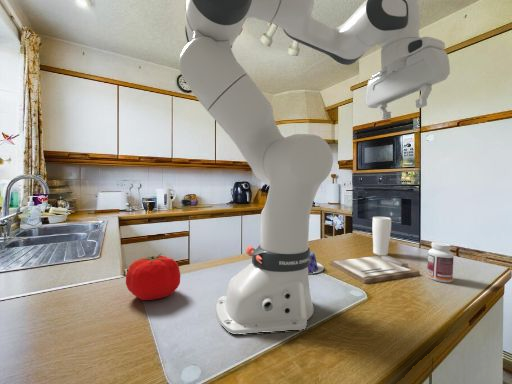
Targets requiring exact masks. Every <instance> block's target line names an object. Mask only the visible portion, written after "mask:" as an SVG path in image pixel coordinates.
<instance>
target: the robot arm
mask: <svg viewBox="0 0 512 384" xmlns="http://www.w3.org/2000/svg"><path fill="white" fill-rule="evenodd" d="M314 1H315V0H185V5H184V7H185V8H184V17H185V18H184V20H185V28H184V29H185V31H184V32H185V38H186V41H187V43H186V45H184V47H183V49H182V51H181V53H180V55H179V57H178V69H179V72H180V74H181V77H182V78H183V80H184V81H185V83H186V84H187V86H188V88H189V89H190V90H191V93H193V95H194V96H195V97H196V99H197V100H198V102H200V104H201V106H202V107H204V109H205V110H206V112H208V114H209V115H210V116H211V117H212V118H213V119H214V121H216V123H217V124H218V125H219V126H220V127H221V129H223V131H224V132H225V133H226V134H227V135H228V136H229V138H231V140H232V142H233V143H234V144H235V145H236V147H237V148H238V150H239V152H240V153H241V154H242V156H243V158H244V159H245V161H246V163H247V164H248V166H249V167H250V168H251V171H252V174H253V175H254V177H256V179H257V180H259V181H260V182H261V183H263V184H265V185H266V186H269V189H268V191H267V192H268V193H267V197H266V201H265V204H264V207H263V209H262V210H261V213H260V232H259V234H260V237H259V239H260V240H259V241H260V243H259V245H258V247H256V248H254V246H252V245H249V246H247V247H246V248H245V253H246V254H247V255H248V256H249V257H251V262H250V263H249V264H247V266H246V267H244V268H243V269H242V270H240V271H239V272H238V273H237V274H235V275H234V276H233V277H232V278H231V279H230V280H229V282H228V284H227V289H226V295H222V296H220V297H219V298H218V299H217V301H216V306H215V313H217V314H216V317H218V318H217V320H218V319H219V320H218V322H219V321H220V322H219V324H220V323H221V324H222V326H223V327H224V328H225V329H227V330H228V331H230V332H232V333H236V334H238V333H250V332H251V333H252V332H262V331H281V330H282V331H283V330H284V331H285V330H299V331H303V330H302V329H304V330H306V329H307V327H306V326H308V321H309V319H310V318H311V317H312V316H313V314H314V308H315V307H314V305H313V304H314V303H313V300H312V295H311V291H310V290H311V289H310V279H309V273H308V270H309V266H310V252H311V249H310V247H309V235H310V234H309V232H310V231H309V230H310V217H311V211H312V207H313V203H314V201H315V198H316V194H317V192H318V190H319V188H320V186H321V185H322V184H323V182H324V181H325V180H326V179H327V178H328V177H329V176H330V173H331V172H332V168H333V163H334V157H333V152H332V149H331V147H330V145H329V144H328V142H327V140H325V139H324V138H322V137H321V136H319V135H316V134H310V133H309V134H308V133H295V134H291V135H289V136H283V134H282V133H281V131H280V129H279V127H278V125H277V123H276V120H275V117H274V109H273V106H272V104H271V102H270V101H269V99H268V98H267V96H266V95H265V94H264V93H263V92H262V90H261V89H260V88H259V87H258V85H257V84H256V83H255V81H254V80H253V79H252V78H251V77H250V75H249V74H248V72H247V71H246V70H245V69H244V68H243V66H242V65H241V64H240V63H239V62H238V61H237V59H236V57H235V55H234V53H233V51H232V47H233V45H234V43H235V41H236V39H237V38H238V36H239V35H240V33H241V31H242V28H243V25H244V21H245V19H249V18H255V19H257V20H260V21H264V22H266V23H269V24H274V25H276V26H279V27H280V28H281V29H282V30H283V32H284V34H285V35H286V36H287V37H289V38H290V39H291V40H293V41H295V42H297V43H299V44H301V45H303V46H306V47H308V48H311V49H313V50H316V51H318V52H321V53H322V54H325V55H327V56H329V57H330V58H331V59H333V60H334V61H335V62H336V63H339V64H341V65H344V66H350V65H353V64H354V63H356V62H357V61H358V60H359V59H360V58H362V56H364V55H365V54H366V53H367V52H368V51H369V50H371V49H372V48H373V47H375V46H376V45H379V46H380V47H381V50H380V64H381V65H380V68H381V70H380V71H379V72H377V73H375V74H373V75H372V76H371V77H370V79H369V80H368V82H367V84H366V85H367V86H366V95H365V104H366V106H367V108H370V109H378V111H379V112H380V113H381V119H382V120H385V121H386V120H390V119H391V117H392V116H391V114H392V111H388V110H387V109H386V108H388V104H390V103H393V102H394V101H397V100H400V99H403V98H404V97H407V96H409V95H412V94H414V93H417V92H419V91H420V95H419V97H418V99H416V100H415V107H416V108H418V109H421V108H424V107H427V105H428V102H427V100H428V97H429V95H431V92H432V90H433V88H432V87H433V86H434V85H436V84H440V83H441V82H443V81H446V80H447V79H448V78H449V76H450V74H451V72H450V71H451V68H450V61H449V59H450V58H449V56H448V53H447V52H446V51H445V50H444V49H445V48H446V47H445V46H446V44H445V42H444V40H441V39H438V38H435V37H431V36H422V37H420V35H419V34H420V28H421V15H420V13H421V12H420V7H419V1H418V0H365V1H363V3H362V4H360V6H359V7H358V8H357V9H356V10H355V11H354V12H353V13H352V15H350V17H348V18H347V20H345V22H343V23H342V24H340V25H339V26H337V27H331V26H329V25H327V24H324V23H323V22H321V21H319V20H317V19H315V18H313V17H312V14H313V9H314V4H315V3H314ZM307 320H308V321H307ZM221 324H220V325H221ZM222 326H221V327H222ZM223 327H222V328H223ZM224 328H223V329H224ZM305 328H306V329H305ZM225 329H224V330H225ZM285 332H286V331H285Z"/></svg>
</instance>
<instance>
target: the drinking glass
mask: <svg viewBox="0 0 512 384" xmlns="http://www.w3.org/2000/svg"><path fill="white" fill-rule="evenodd" d="M371 223H372V224H371V225H372V226H371V227H372V228H371V230H372V231H371V232H372V253H373V254H374V255H375V256H378V255H379V256H388V254H389V247H390V246H389V244H390V238H391V231H392V218H391V217H387V216H372V222H371Z"/></svg>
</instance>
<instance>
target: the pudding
mask: <svg viewBox="0 0 512 384" xmlns="http://www.w3.org/2000/svg"><path fill="white" fill-rule="evenodd" d="M324 270H325V267H324V265H322V264H321V263H319V262H317V259H316V255H315V253H314V252H312V251H310V266H309V270H308V272H312V271H313V273H312V274H316V273H321V272H323V271H324ZM315 271H316V272H315Z"/></svg>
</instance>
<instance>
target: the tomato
mask: <svg viewBox="0 0 512 384" xmlns="http://www.w3.org/2000/svg"><path fill="white" fill-rule="evenodd" d="M162 254H163V253H162V252H161V253H160V254H158V255H156V256H154V255H151V256H147V257H141V258H139V259H136V260H135V261H133V262H132V263H131V264H130V265H129V267H128V269H127V272H126V275H125V285H126V288H127V290H128V291H129V292H130V293H131V294H132V295H134V296H135V297H136V298H138V299H141V300H142V301H148V300H149V301H150V300H157V299H159V300H160V299H163V298H166V297H169V296H170V295H171V294H173V293H174V292H175V291H176V290H177V289H178V287H179V286H180V283H181V271H180V267H179V264H178V263H177V262H176V261H175V259H173V258H170V257H167V256H165V255H162Z"/></svg>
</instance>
